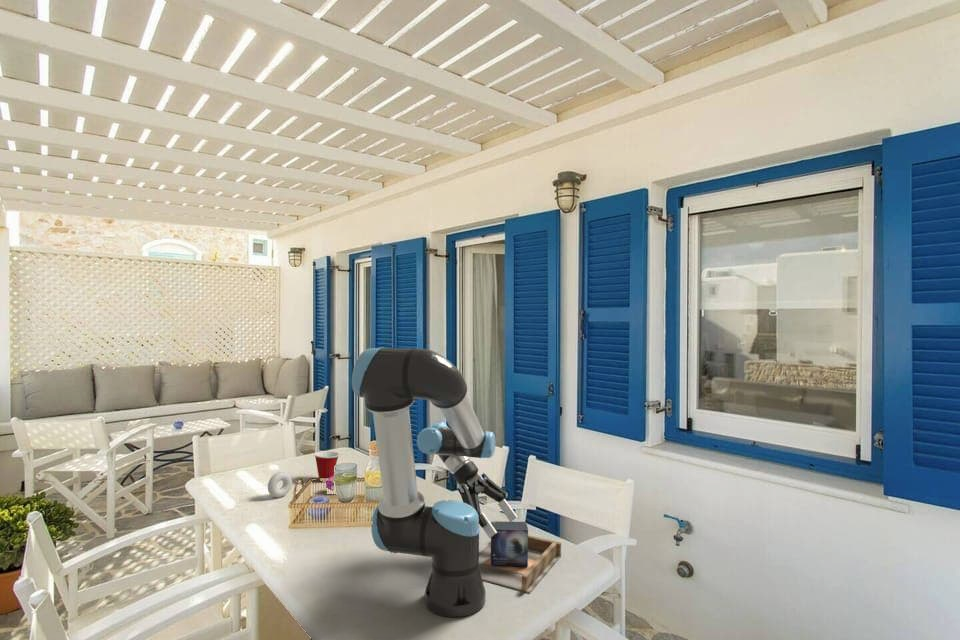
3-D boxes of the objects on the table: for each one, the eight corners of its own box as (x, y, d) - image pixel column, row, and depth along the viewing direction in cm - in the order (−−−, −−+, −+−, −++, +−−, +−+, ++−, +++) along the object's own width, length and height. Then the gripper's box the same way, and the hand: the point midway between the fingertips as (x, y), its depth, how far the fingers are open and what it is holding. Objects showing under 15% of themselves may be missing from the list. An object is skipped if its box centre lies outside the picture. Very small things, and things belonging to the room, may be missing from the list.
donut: (288, 492, 204) (289, 468, 204) (293, 494, 202) (294, 469, 202) (265, 499, 196) (266, 474, 196) (270, 501, 194) (270, 475, 194)
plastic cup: (339, 483, 217) (340, 455, 217) (313, 485, 214) (313, 457, 214) (339, 475, 228) (339, 449, 228) (314, 477, 225) (314, 450, 225)
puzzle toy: (326, 494, 202) (326, 480, 202) (330, 490, 208) (331, 476, 208) (340, 495, 202) (340, 481, 202) (344, 490, 208) (344, 476, 208)
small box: (490, 567, 140) (490, 529, 141) (490, 557, 147) (490, 520, 147) (528, 567, 140) (528, 529, 141) (526, 557, 147) (526, 520, 148)
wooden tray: (529, 593, 128) (529, 578, 128) (456, 572, 139) (456, 558, 139) (561, 556, 149) (561, 542, 149) (495, 540, 160) (495, 528, 160)
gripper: (474, 465, 166) (514, 520, 159) (431, 485, 144) (474, 550, 137) (488, 451, 164) (529, 506, 156) (447, 470, 142) (492, 535, 134)
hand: (504, 527), depth 147 cm, fingers open, 13 cm apart
